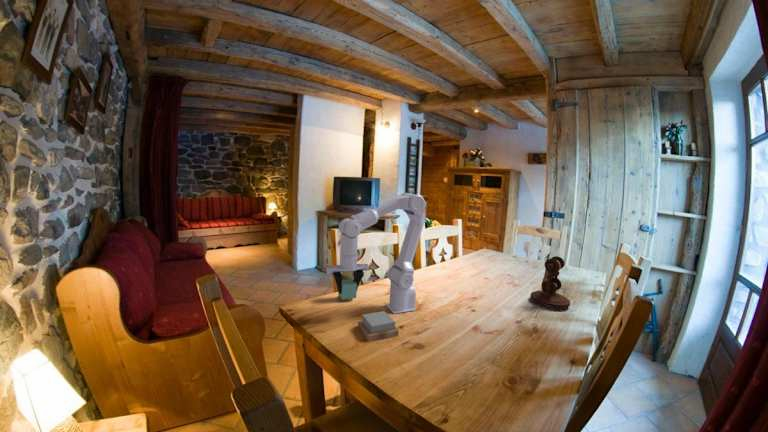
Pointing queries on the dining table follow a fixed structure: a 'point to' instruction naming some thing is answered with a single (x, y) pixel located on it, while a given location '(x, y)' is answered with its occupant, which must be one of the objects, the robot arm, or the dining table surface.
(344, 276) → the olive upright rounded piece
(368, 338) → the walnut block
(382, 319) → the grey block
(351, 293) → the teal cube
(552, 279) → the dark brown carved statue
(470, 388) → the dining table surface
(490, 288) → the dining table surface
